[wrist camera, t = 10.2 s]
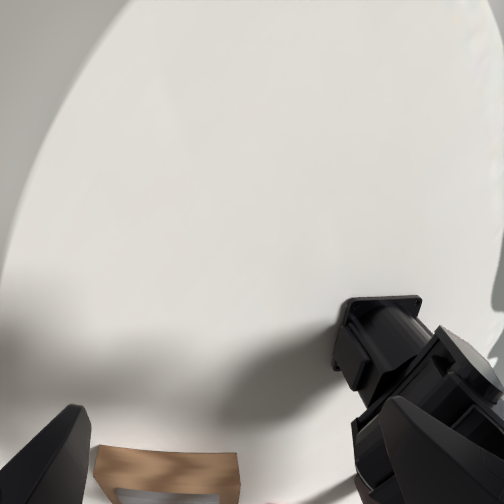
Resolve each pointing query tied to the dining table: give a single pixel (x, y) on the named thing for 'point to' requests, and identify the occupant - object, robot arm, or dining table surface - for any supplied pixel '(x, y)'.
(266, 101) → the dining table surface
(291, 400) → the dining table surface
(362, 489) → the bottle
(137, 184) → the dining table surface
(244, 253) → the dining table surface
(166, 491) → the walnut base
